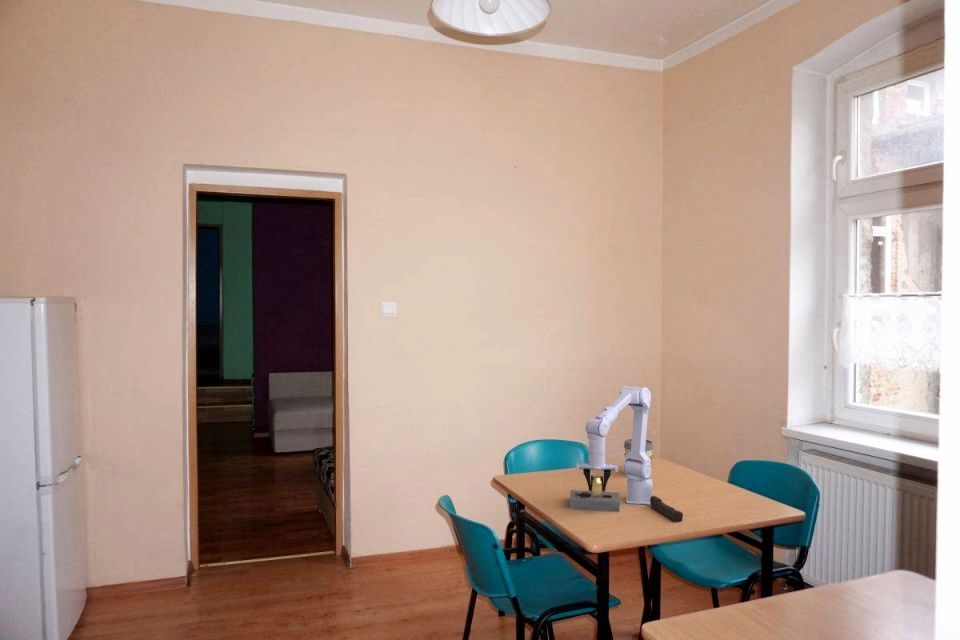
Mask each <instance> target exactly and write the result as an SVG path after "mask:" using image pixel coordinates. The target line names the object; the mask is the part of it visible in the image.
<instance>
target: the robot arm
mask: <svg viewBox="0 0 960 640" xmlns="http://www.w3.org/2000/svg"><path fill="white" fill-rule="evenodd" d="M651 397H652V393H651V392H650V390H649V388H647V387H638V386H629V385H624V386H622V388H621V389H620V391H619V396H618V397H617V398H616V399H615V401H613V402H612V404H611V405H610V406H609V405H607V406H604V407H603V409H602V410H601V411H600V412H599V413H598V414H597V415H596V416H595V417H593V418H592V417H591V418H589V419H588V420H587V421H586V425H585V432H586V435H587V438H588V462H585V463H584V462H582V463H581V462H579V463H578V462H577V463H576V467H575V468H576V471H580V470H583V471H582V472H583V475H584V478H585V480H586V483H587V486H588V491H591V471H603V492H606V489H607V484H608V481H609V480H610V479H609V478H610V476H611V475H612V472H617V473H618V472H619V466H618V464H611V463H609V464H608V463H606V436H607V435H608V433H609V430H610V428H611V425H612V424H613V423H614V422H615V421H616V420H617V419H618V417H619V413H620V412H621V411H622V410H623V409H625V408H626V407H627V406H629V407H630V408H631V409H632V410H633V421H632V422H633V423H632V432H631V433H632V434H631V439H632V443H631V452H630V453H628V454H627V455H626V456H625V455H624V461H623V463H622V471H623V474H624V475H625V478H627V480H626V481H627V484H626V486H627V487H626V489H627V492H626V496H625V500H626V503H627V504H636V505H637V504H638V505H639V504H640V505H650V498H651V496H654V495H653V494H654V493H653V479H652V478H650V476H652V472H653V471H652V470H653V468H652V463H651V459H650V458H649V457H648V456H647V455H646V454H645V445H646V440H647V432H648V431H647V430H648V419H649V410H650V408H651V399H652V398H651ZM633 459H635V460H633ZM637 460H639V461H637Z"/></svg>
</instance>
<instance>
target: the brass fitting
mask: <svg viewBox="0 0 960 640" xmlns="http://www.w3.org/2000/svg"><path fill="white" fill-rule="evenodd" d="M590 482H591V497H594V498H601V497H603V483H604V475H600V474H592V475H590Z"/></svg>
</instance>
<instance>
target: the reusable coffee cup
mask: <svg viewBox="0 0 960 640" xmlns="http://www.w3.org/2000/svg"><path fill="white" fill-rule="evenodd" d="M631 443H632V438H629V439H625V440H624V445H623V448H624V452H625V453H624V457H625V456H626V455H627V454H628V453H630V452H631ZM653 444H654V442H653V441H652V440H648V439H646V445H645V454H646V455H647V456H648V457H649V458H650V459H651V464H652V463H653V450H654V445H653ZM633 460H635V459H633ZM637 461H639V460H637Z"/></svg>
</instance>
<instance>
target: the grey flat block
mask: <svg viewBox="0 0 960 640" xmlns="http://www.w3.org/2000/svg"><path fill="white" fill-rule="evenodd" d="M569 493H570V494H569V509H570V508H574V509H573V510H584V509H589V510H588V511H602V510H607V511H606V512H620V506H621V505H620V495H619V492H616V491H615V492H614V491H611V492H610V491H605V492H603V497H601V498H594V497H591V491H589V490H576V489H572V490H571V489H570V492H569Z"/></svg>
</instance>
